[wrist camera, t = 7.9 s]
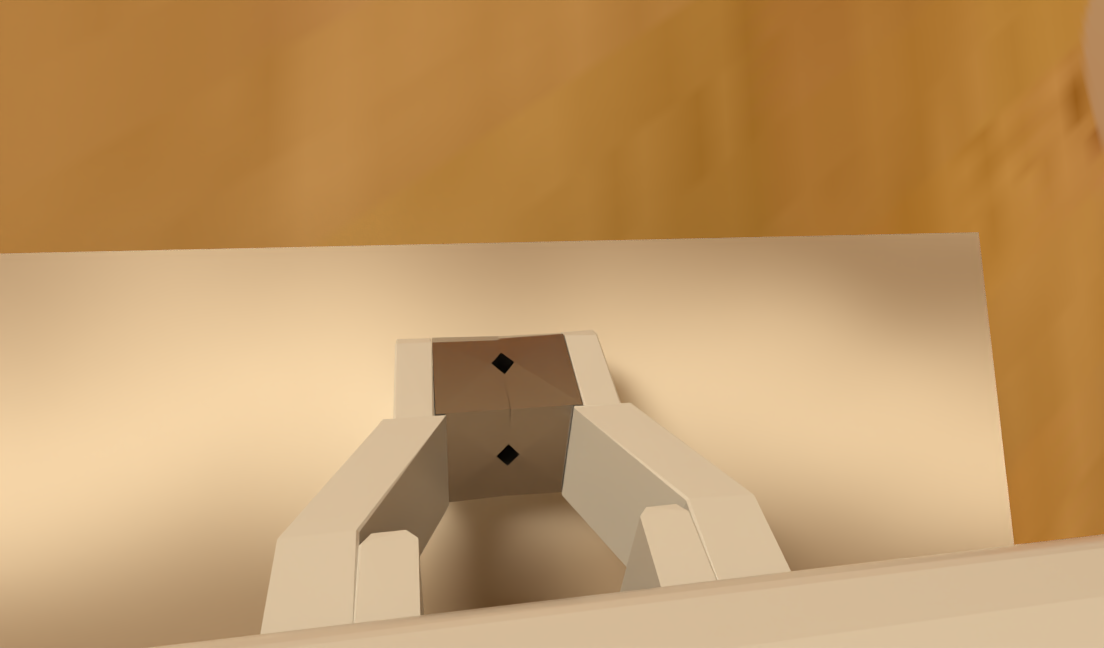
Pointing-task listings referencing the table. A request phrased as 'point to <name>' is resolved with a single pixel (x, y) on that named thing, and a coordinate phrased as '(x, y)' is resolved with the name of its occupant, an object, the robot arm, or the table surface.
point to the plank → (368, 384)
